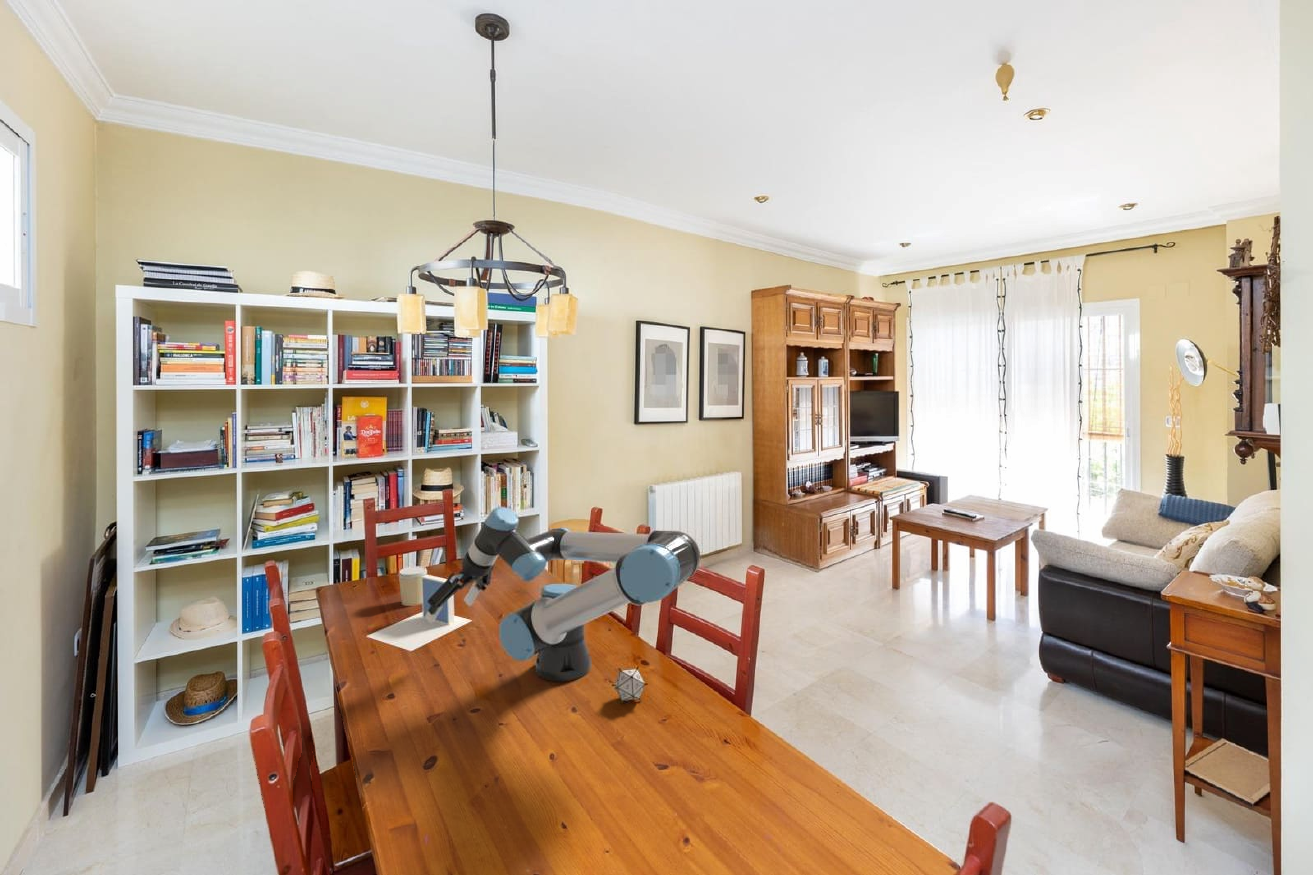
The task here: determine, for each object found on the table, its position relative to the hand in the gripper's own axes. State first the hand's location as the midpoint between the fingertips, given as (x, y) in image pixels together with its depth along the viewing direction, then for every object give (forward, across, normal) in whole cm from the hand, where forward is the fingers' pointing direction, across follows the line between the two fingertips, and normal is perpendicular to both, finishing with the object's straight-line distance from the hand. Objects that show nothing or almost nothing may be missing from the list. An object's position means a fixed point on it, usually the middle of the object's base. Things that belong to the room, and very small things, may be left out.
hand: (448, 611), depth 158 cm
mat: (+27, -11, -12) cm, 32 cm away
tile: (+27, -18, -12) cm, 34 cm away
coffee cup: (+39, -25, -28) cm, 54 cm away
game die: (-18, -9, +52) cm, 56 cm away
